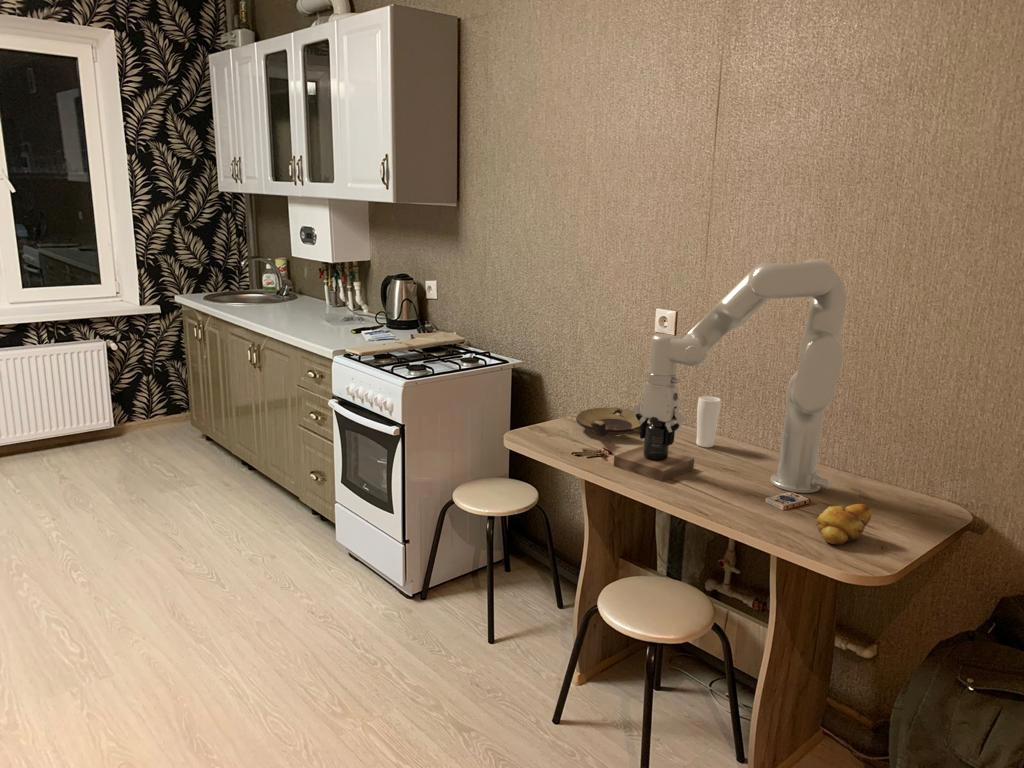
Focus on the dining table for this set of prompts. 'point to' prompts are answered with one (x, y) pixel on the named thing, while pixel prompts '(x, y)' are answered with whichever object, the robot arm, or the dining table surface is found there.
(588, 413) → the olive brown shallow dish
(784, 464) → the robot arm
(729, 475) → the dining table surface
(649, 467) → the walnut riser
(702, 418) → the drinking glass
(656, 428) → the supplement bottle
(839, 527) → the bread roll
